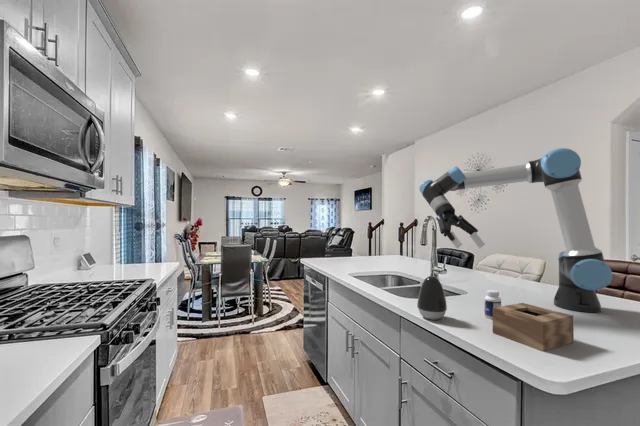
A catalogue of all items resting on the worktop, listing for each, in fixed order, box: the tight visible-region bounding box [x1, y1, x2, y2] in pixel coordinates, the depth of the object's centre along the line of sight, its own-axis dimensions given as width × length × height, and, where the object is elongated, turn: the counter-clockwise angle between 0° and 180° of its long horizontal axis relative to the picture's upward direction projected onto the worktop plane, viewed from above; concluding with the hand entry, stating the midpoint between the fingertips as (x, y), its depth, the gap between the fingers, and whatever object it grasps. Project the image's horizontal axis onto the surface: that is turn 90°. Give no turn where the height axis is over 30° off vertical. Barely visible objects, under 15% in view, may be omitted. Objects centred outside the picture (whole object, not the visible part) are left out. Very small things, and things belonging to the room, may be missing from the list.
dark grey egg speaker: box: [416, 275, 448, 321], centre depth 114 cm, size 10×10×15 cm
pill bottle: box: [484, 289, 502, 320], centre depth 115 cm, size 5×5×10 cm
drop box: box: [492, 302, 575, 352], centre depth 96 cm, size 15×15×8 cm
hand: (471, 246), depth 124 cm, fingers open, 13 cm apart
